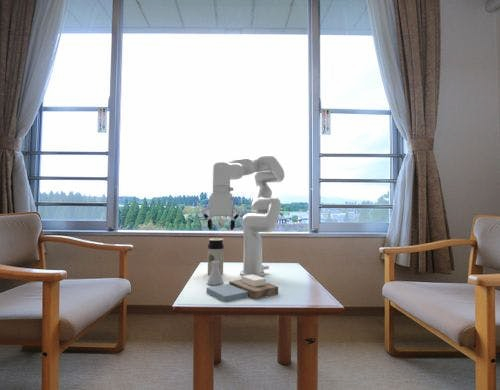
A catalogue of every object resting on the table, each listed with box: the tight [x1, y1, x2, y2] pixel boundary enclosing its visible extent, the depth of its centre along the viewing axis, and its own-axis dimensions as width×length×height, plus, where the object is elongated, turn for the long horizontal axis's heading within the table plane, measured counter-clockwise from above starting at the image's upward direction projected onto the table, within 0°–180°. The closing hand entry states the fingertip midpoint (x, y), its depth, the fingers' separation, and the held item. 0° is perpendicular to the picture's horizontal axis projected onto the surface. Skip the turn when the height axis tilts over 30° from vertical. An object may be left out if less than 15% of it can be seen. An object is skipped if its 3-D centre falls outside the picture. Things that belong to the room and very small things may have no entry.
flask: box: [206, 261, 224, 287], centre depth 141 cm, size 7×7×10 cm
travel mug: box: [207, 237, 224, 276], centre depth 160 cm, size 8×8×18 cm
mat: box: [206, 283, 249, 303], centre depth 124 cm, size 11×14×2 cm
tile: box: [241, 274, 267, 287], centre depth 131 cm, size 6×9×2 cm, turn 37°
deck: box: [228, 278, 279, 300], centre depth 130 cm, size 12×18×3 cm, turn 37°
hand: (221, 229), depth 135 cm, fingers open, 9 cm apart
